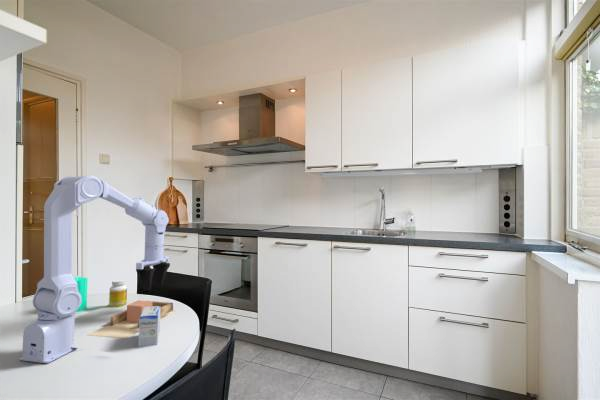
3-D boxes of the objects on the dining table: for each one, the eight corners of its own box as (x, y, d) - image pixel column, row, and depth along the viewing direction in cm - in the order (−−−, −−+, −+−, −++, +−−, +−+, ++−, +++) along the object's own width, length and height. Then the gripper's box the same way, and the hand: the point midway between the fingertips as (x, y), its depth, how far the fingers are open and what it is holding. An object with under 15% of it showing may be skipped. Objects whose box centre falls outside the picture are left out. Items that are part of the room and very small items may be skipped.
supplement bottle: (107, 307, 110) (108, 279, 110) (124, 304, 113) (125, 277, 113) (110, 311, 105) (111, 282, 106) (127, 308, 109) (128, 280, 109)
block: (141, 323, 93) (141, 306, 93) (126, 321, 93) (127, 305, 94) (151, 317, 98) (152, 301, 98) (137, 316, 98) (138, 300, 98)
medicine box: (141, 338, 84) (142, 306, 85) (159, 336, 86) (160, 305, 86) (137, 351, 77) (139, 316, 77) (157, 349, 79) (158, 314, 79)
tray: (125, 342, 82) (126, 329, 82) (86, 338, 84) (87, 325, 84) (175, 313, 104) (175, 303, 104) (143, 310, 106) (144, 300, 106)
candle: (67, 308, 108) (68, 273, 108) (88, 305, 110) (89, 272, 111) (63, 313, 102) (64, 277, 103) (84, 311, 105) (85, 275, 105)
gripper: (151, 249, 94) (149, 294, 94) (177, 243, 109) (176, 282, 108) (130, 248, 96) (129, 292, 95) (159, 243, 110) (158, 281, 109)
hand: (153, 287), depth 102 cm, fingers open, 6 cm apart
